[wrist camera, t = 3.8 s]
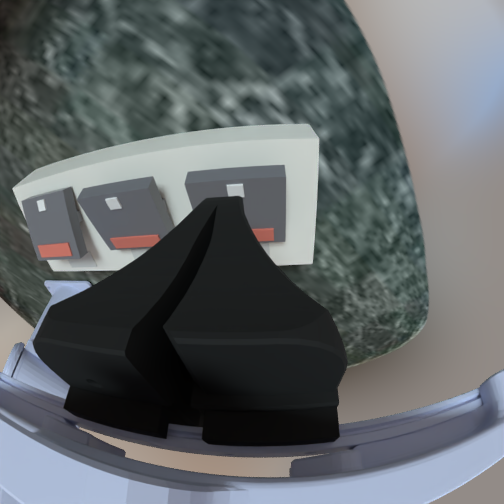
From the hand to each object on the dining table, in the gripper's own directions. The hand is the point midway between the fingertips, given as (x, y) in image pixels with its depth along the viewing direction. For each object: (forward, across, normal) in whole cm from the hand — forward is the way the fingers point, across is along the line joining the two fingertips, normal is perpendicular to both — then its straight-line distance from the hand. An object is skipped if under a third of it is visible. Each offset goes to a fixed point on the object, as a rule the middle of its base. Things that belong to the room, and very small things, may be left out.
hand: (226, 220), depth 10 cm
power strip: (+10, +7, +3) cm, 12 cm away
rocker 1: (+5, +14, +2) cm, 15 cm away
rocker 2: (+5, +7, +2) cm, 9 cm away
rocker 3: (+5, 0, +2) cm, 6 cm away
